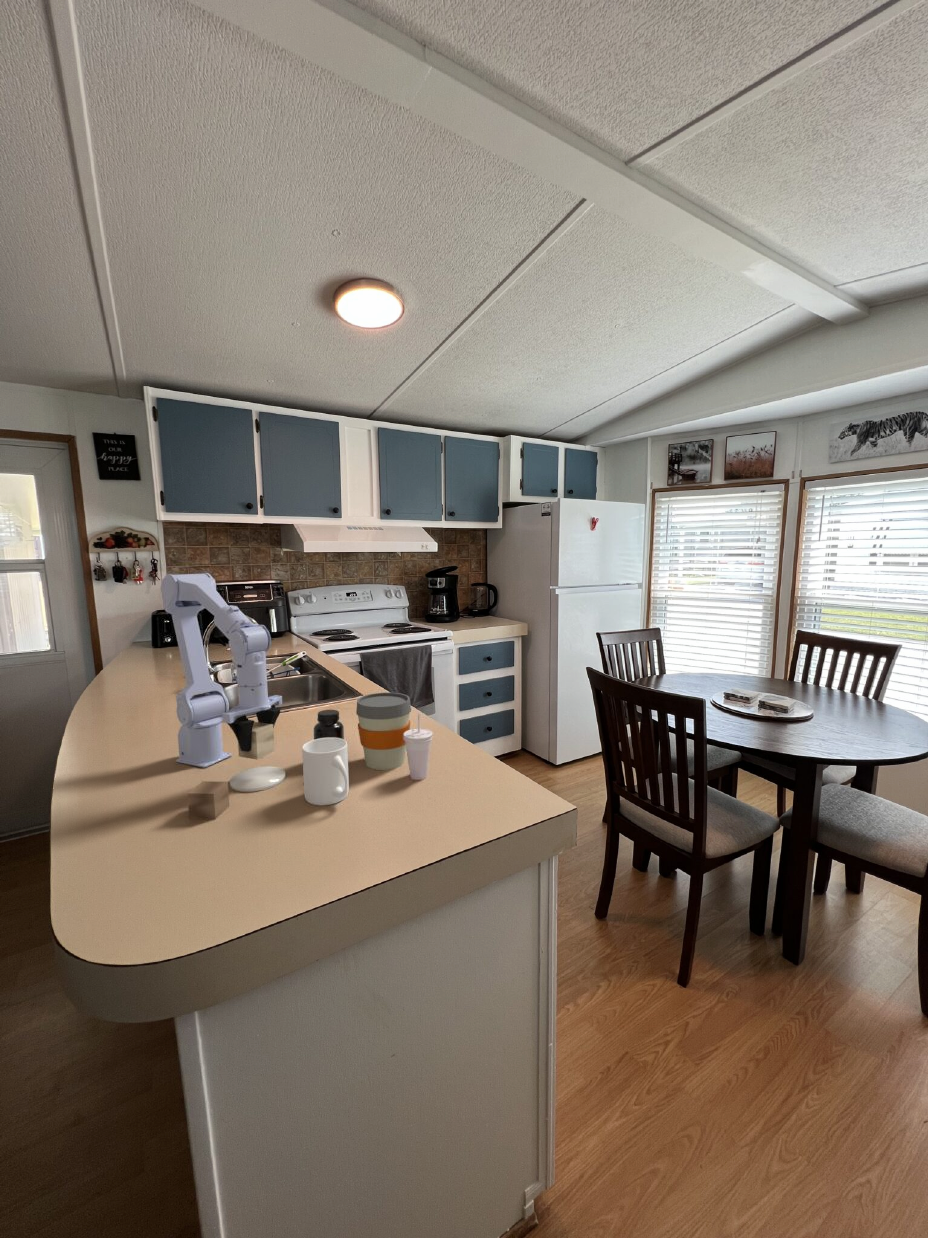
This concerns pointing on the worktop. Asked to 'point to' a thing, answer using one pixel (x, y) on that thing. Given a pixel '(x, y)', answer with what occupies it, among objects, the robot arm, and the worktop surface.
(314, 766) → the mug
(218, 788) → the walnut block
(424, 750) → the smoothie
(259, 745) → the beech block
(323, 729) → the supplement bottle
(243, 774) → the coaster
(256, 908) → the worktop surface
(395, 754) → the reusable coffee cup
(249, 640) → the robot arm
